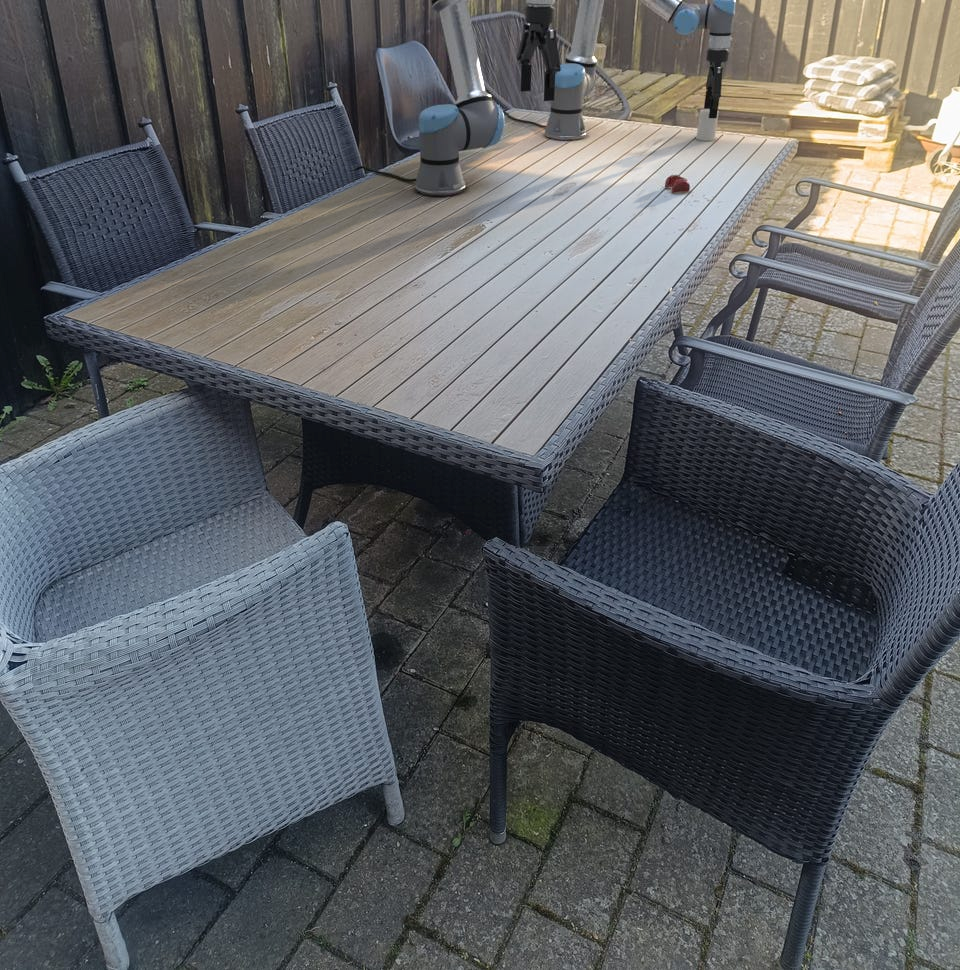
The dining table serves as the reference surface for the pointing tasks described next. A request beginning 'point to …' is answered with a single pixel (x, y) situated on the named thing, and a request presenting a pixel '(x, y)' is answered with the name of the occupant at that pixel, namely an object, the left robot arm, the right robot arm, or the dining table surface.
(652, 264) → the dining table surface
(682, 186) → the dental model
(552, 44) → the left robot arm
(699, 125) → the canister
